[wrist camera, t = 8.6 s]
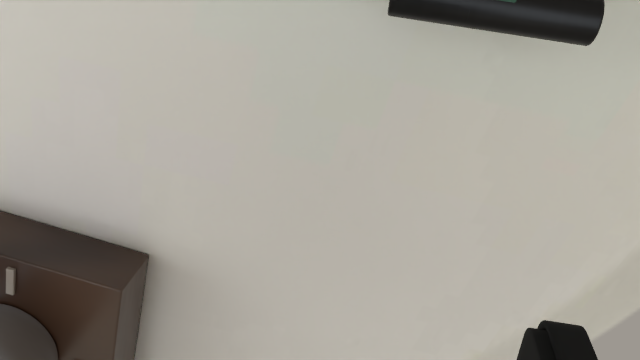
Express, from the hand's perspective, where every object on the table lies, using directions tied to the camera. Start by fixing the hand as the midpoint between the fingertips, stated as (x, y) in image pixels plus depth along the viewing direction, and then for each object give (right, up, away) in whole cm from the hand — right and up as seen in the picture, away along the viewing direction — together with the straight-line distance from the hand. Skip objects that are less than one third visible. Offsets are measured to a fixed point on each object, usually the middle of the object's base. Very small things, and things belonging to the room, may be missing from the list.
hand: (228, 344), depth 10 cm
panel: (-13, -4, +21) cm, 25 cm away
